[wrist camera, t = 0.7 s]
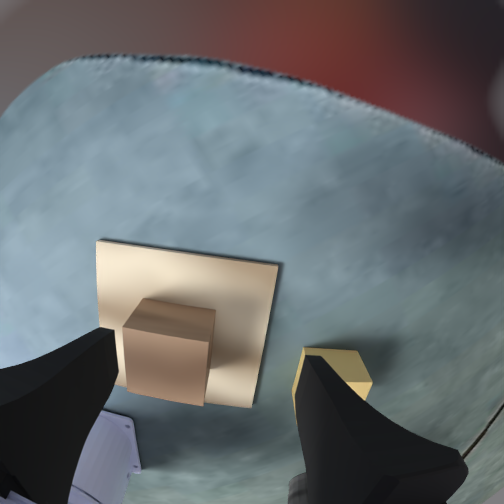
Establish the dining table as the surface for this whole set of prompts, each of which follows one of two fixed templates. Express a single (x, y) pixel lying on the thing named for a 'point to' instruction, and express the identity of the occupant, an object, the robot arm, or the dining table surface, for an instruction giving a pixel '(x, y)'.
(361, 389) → the ochre block
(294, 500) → the beverage cup
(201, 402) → the walnut block
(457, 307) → the dining table surface
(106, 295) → the build board
